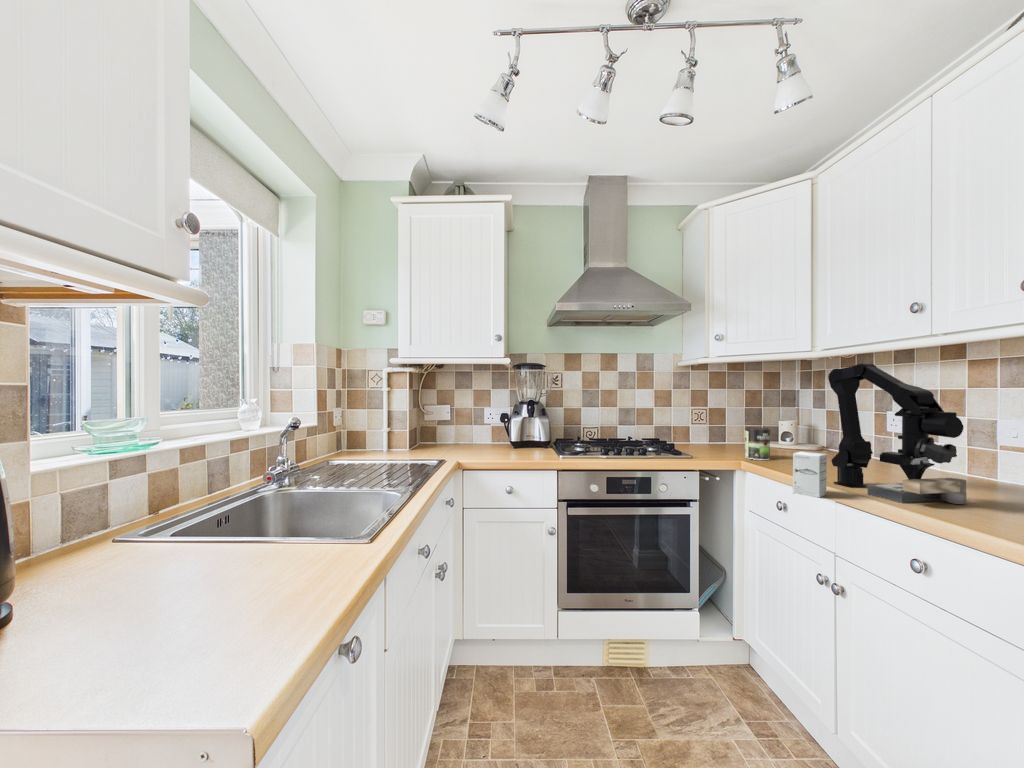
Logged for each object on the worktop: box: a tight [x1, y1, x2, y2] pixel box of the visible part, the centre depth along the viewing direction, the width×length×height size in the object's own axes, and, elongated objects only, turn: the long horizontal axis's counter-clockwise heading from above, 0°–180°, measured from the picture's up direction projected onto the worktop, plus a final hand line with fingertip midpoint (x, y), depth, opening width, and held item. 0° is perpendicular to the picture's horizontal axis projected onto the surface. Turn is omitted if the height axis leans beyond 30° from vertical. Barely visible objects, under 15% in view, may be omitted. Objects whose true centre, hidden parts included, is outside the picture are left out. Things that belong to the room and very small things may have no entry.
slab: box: [867, 482, 945, 504], centre depth 133 cm, size 10×20×3 cm, turn 101°
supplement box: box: [792, 450, 828, 499], centre depth 137 cm, size 7×7×13 cm
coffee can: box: [744, 427, 771, 461], centre depth 205 cm, size 10×10×14 cm
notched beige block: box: [902, 477, 967, 505], centre depth 125 cm, size 18×4×6 cm, turn 101°
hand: (914, 486), depth 129 cm, fingers closed, pressing on notched beige block
